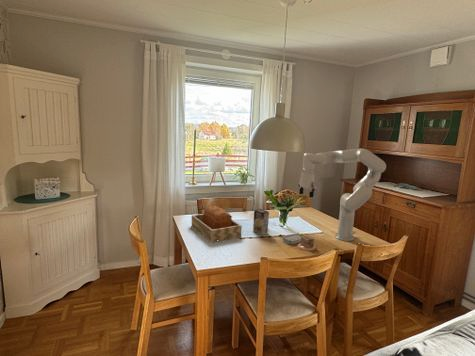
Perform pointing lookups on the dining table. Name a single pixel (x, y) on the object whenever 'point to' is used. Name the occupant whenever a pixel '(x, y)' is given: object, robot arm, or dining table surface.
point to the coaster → (306, 248)
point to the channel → (293, 240)
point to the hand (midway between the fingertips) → (306, 195)
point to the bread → (216, 218)
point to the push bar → (288, 239)
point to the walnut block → (307, 242)
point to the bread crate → (216, 233)
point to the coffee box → (260, 221)
